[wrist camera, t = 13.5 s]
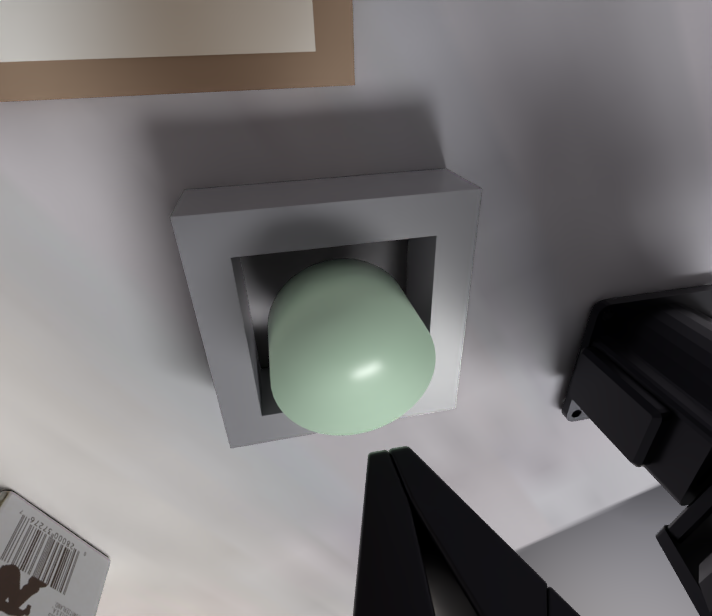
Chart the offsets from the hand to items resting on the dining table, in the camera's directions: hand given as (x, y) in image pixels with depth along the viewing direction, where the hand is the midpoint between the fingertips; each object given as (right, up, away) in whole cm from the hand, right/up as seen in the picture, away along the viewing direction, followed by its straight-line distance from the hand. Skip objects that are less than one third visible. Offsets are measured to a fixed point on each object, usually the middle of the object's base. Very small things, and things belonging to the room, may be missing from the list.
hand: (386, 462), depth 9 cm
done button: (-1, +3, +5) cm, 5 cm away
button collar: (-2, +4, +6) cm, 7 cm away
